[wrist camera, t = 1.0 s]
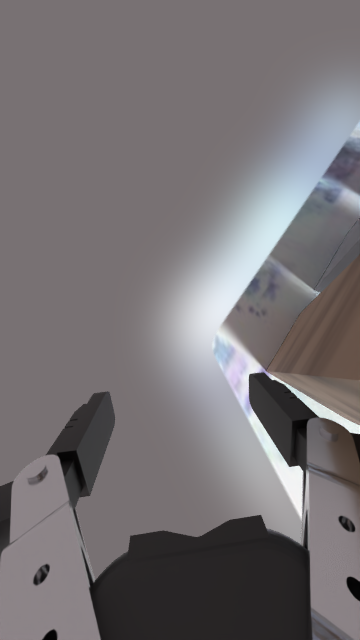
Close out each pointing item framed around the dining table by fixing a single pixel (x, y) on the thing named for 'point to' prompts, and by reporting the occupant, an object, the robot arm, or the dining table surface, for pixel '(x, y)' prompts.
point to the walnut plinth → (327, 347)
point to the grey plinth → (342, 257)
